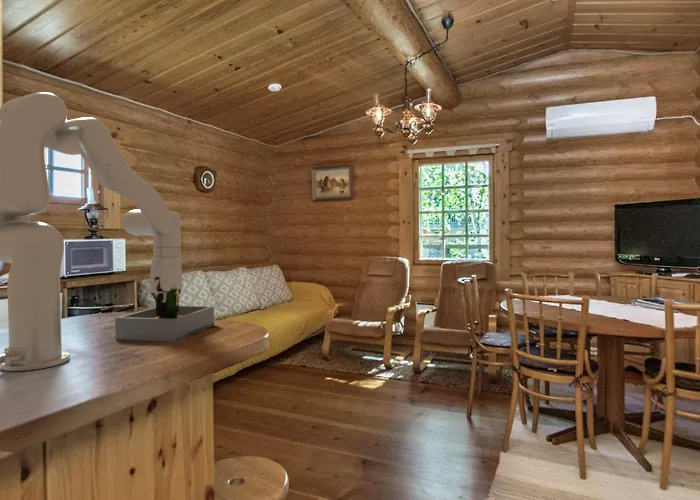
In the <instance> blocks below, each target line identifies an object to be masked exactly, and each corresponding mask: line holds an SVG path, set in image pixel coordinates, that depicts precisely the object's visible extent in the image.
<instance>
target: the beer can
mask: <svg viewBox="0 0 700 500" xmlns="http://www.w3.org/2000/svg"><path fill="white" fill-rule="evenodd" d="M159 291H162V290H159ZM160 295H161V296H163V294H160ZM166 302H167V316H158V318H164V319H175V318H178V303H177V286H176V285H172V288H171V289H170V291H169V292H167V296H166Z"/></svg>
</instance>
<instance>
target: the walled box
mask: <svg viewBox="0 0 700 500" xmlns="http://www.w3.org/2000/svg"><path fill="white" fill-rule="evenodd" d="M114 322H115V323H114V325H115V328H114V329H115V331H114V332H115V340H117V341H118V340H122V341H123V340H124V341H142V342H143V341H145V342H165V343H166V342H170V343H172V342H173V343H177V342H179V341H181V340H183V339H186V338H189V337H191V336H193V335H195V334H199V333H200V332H202V331H205V330H206V329H208V328H211V327H214V326H215V306H208V305H206V306H205V305H204V306H203V305H179V312H178V318H175V319H164V318H158V316H156V306H153V307H149V308H147V309H143V310H139V311H136V312H131V313H128V314H124V315H120V316H116V317H115V318H114ZM213 325H214V326H213Z"/></svg>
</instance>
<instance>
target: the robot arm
mask: <svg viewBox="0 0 700 500" xmlns="http://www.w3.org/2000/svg"><path fill="white" fill-rule="evenodd" d="M67 117H68V109H67V105H66V104H65V102H64V100H63V99H62V98H61V97H59V96H58V95H56V94H53V93H52V92H44V91H42V92H41V91H40V92H34V93H30V94H25V95H23V96H21V97H16V98H13V99H10V100H7V101H6V102H4V103H3V104H2V105H1V106H0V262H2V263H5V264H10V268H9V271H8V277H7V285H6V287H7V292H6V293H7V316H8V321H7V322H8V347H4V352H3V353H1V354H0V369H1V370H3V371H6V372H7V371H8V372H23V371H25V372H26V371H34V370H40V369H45V368H50V367H55V366H58V365H61V364H64V363H66V362H67V361H69V360H70V357H71V353H70V352H67V351H64V350H63V349H62V348H63V347H62V308H61V307H62V306H61V305H62V302H61V301H62V299H61V297H62V296H61V271H62V262H63V258H64V253H65V252H64V250H65V243H64V238H63V236H62V234H61V233H60V232H59V230H58V229H57V228H56V227H54V226H53V225H51V224H49V223H45V222H41V221H31V217H30V216H34V215H38V214H41V213H44V212H45V211H46V210H47V209H48V208H49V205H50V202H51V193H50V187H49V180H48V174H47V168H46V167H47V165H46V161H45V159H46V158H45V148H46V149H49V150H52V151H54V152H57V153H62V154H64V155H69V156H75V155H80V156H81V158H82V160H84V162H85V163H86V165H87V167H88V168H89V170H90V171H91V173H92V174H93V176H94V178H95V179H96V180H97V182H98V184H99V185H100V186H102V187H104V188H105V189H106V190H108V191H111V192H114V193H115V194H118V195H120V196H121V197H124V198H126V199H127V200H129V201H130V202H132V204H134V206H136V207H137V208H138V209H132V210H129V211H127V212H126V213H125V214H124V215H123V217H122V219H121V225H122V227H123V230H124V231H125V232H127V233H128V234H130V235H132V236H135V237H148V236H149V237H151V236H152V251H153V253H152V254H153V255H152V257H153V258H152V259H151V265H150V274H149V290H150V292H149V293H150V295H151V296H152V297H153V299H154V303H155V307H156V316H167V302H166V296H167V292H169V291H170V289H171V288H172V285H176V286H177V303H178V312H179V306H180V304H179V303H180V301H179V300H180V295H181V292H182V290H183V288H184V287H183V286H184V285H183V270H182V269H183V268H182V261H181V260H182V259H181V258H182V254H181V253H182V252H181V251H182V248H181V247H182V246H181V245H182V241H181V236H182V235H181V234H182V233H181V215H180V213H179V212H178V211H172V210H169V208H168V205H166V202H165V201H164V199H163V197H162V196H161V195H160V193H159V192H158V191H157V190H156V189H155V188H154V187H153V186H152V185H151V184H150V183H148V182H147V181H146V180H145V179H143V177H141V176H139V175H138V174H137V173H136V172H135V171H133V169H132V168H131V167H130V165H129V163H128V162H127V160H126V158H125V157H124V155H123V153H122V152H121V150H120V148H119V146H118V144H117V143H116V141H115V139H114V138H113V136H112V135H111V133H110V131H109V130H108V128H107V126H106V125H105V124H104V123H103V122H102V121H101V120H99V119H97V118H95V117H79V118H75V119H74V118H73V119H70V120H67V119H68V118H67ZM159 290H162V291H159ZM160 294H163V296H161V295H160Z"/></svg>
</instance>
